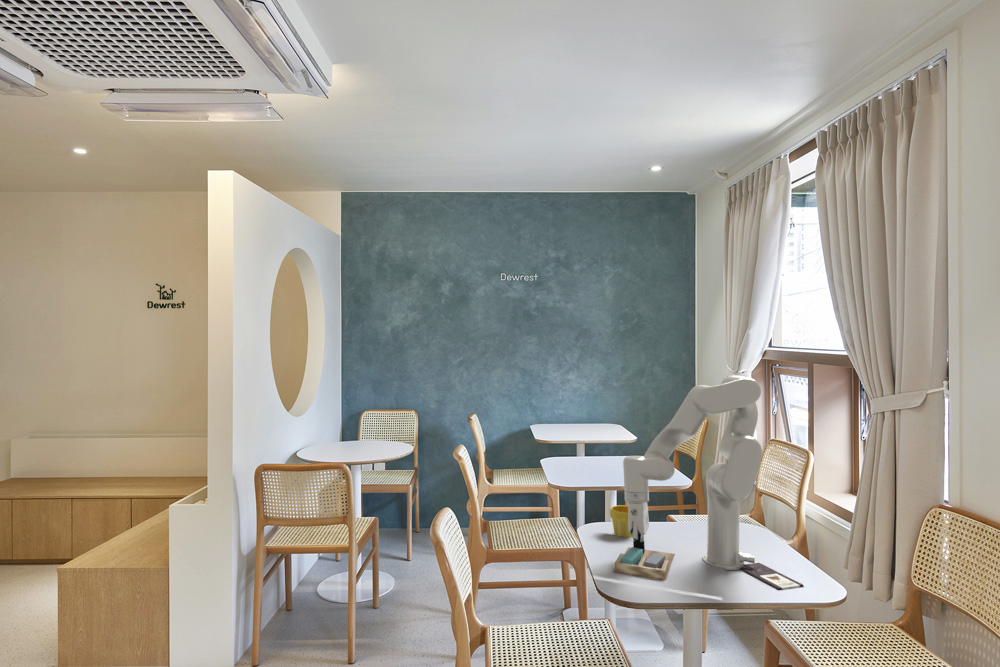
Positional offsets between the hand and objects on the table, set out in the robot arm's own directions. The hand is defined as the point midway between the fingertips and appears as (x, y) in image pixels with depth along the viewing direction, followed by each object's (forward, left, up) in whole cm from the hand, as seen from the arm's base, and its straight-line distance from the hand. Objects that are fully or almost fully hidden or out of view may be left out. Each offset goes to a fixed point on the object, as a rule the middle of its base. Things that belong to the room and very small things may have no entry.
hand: (639, 553), depth 189 cm
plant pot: (+9, -25, -3) cm, 27 cm away
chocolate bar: (-38, -5, -4) cm, 38 cm away
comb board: (-2, +1, -3) cm, 4 cm away
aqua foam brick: (+1, +6, -2) cm, 6 cm away
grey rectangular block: (-6, +6, -2) cm, 9 cm away
